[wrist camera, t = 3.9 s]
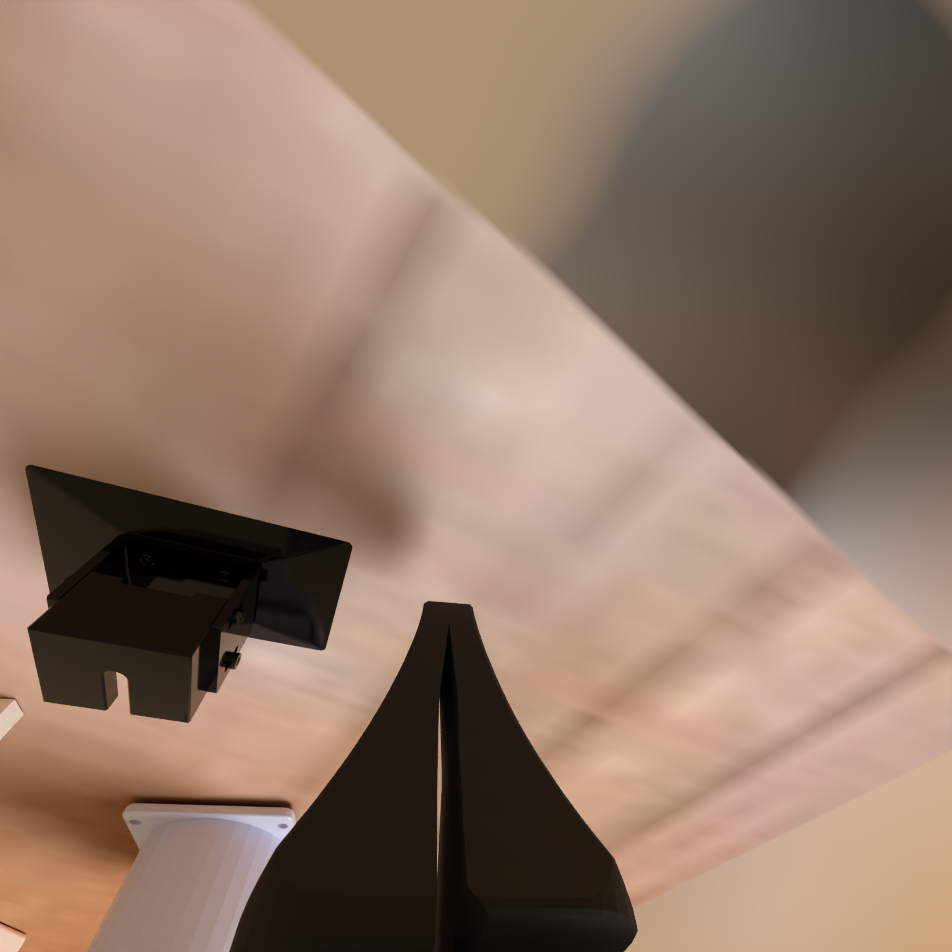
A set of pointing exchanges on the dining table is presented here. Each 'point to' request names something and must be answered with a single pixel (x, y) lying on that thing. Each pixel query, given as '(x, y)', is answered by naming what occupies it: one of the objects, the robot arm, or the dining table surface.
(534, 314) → the dining table surface
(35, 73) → the dining table surface
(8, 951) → the jar
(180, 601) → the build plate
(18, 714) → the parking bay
